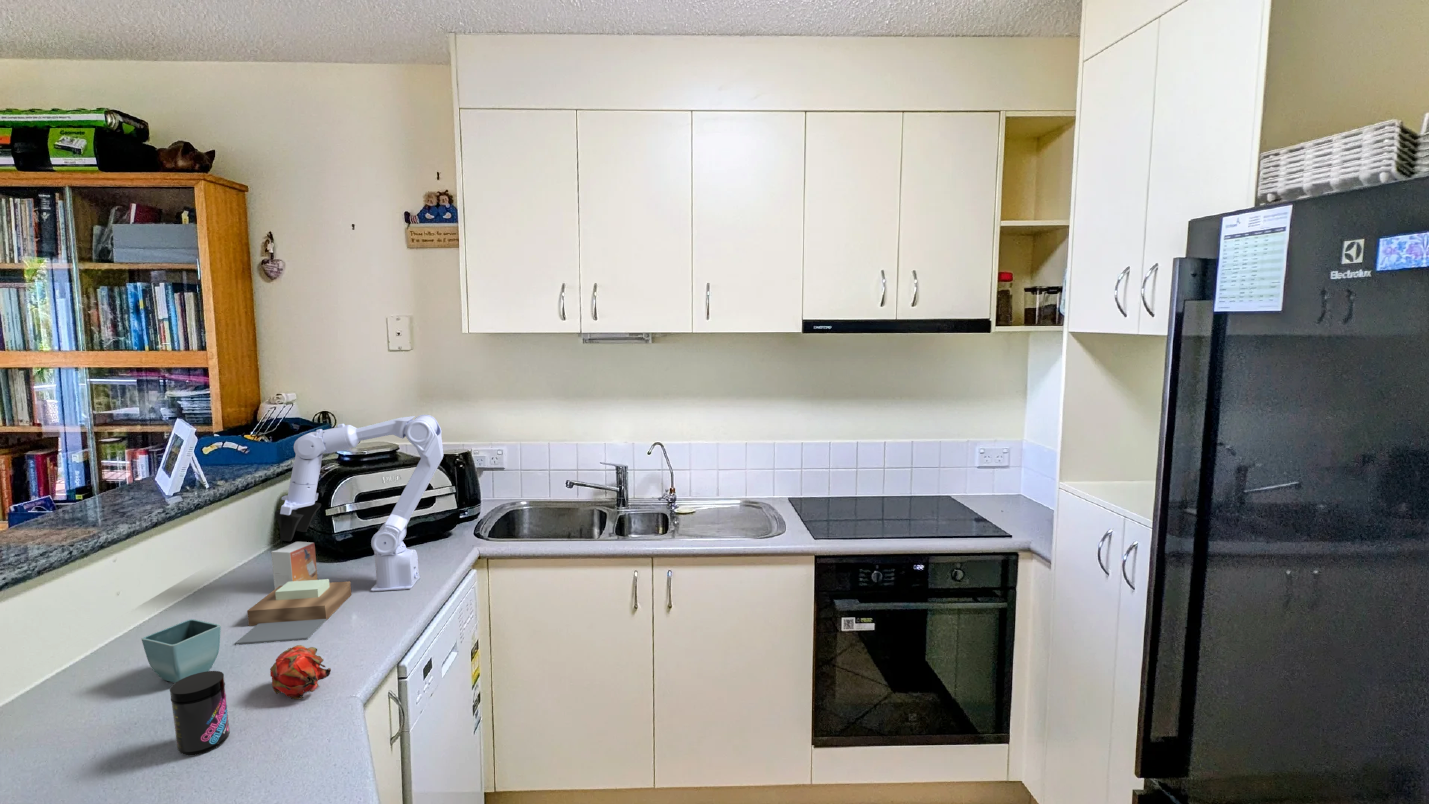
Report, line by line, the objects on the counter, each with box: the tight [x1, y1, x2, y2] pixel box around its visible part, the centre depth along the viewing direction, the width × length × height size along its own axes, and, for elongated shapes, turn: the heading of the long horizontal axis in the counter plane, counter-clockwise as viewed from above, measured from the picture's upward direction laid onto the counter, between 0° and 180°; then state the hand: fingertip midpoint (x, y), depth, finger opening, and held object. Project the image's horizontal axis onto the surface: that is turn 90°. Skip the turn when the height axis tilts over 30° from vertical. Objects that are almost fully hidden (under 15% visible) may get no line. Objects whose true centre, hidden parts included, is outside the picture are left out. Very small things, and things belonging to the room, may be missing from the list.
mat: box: [234, 619, 327, 646], centre depth 143 cm, size 14×9×1 cm, turn 98°
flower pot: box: [141, 618, 222, 684], centre depth 125 cm, size 9×9×9 cm
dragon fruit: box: [269, 644, 332, 700], centre depth 119 cm, size 8×8×12 cm
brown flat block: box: [246, 580, 352, 627], centre depth 154 cm, size 16×14×4 cm
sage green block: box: [275, 578, 330, 600], centre depth 155 cm, size 9×6×2 cm, turn 98°
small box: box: [270, 541, 319, 590], centre depth 167 cm, size 8×6×10 cm
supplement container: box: [169, 670, 231, 756], centre depth 104 cm, size 7×7×10 cm
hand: (293, 535), depth 161 cm, fingers open, 7 cm apart
